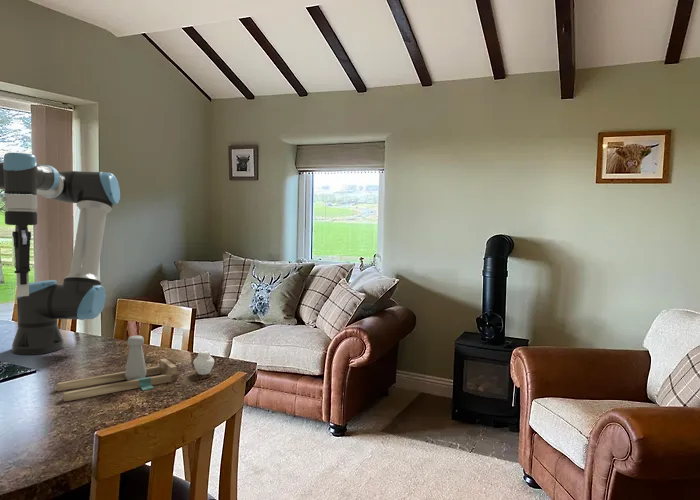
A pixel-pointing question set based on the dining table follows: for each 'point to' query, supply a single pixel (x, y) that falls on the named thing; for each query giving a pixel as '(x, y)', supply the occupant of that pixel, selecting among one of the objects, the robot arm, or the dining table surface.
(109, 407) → the dining table surface
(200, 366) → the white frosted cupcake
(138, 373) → the salt shaker
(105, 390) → the guide rails
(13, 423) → the dining table surface
